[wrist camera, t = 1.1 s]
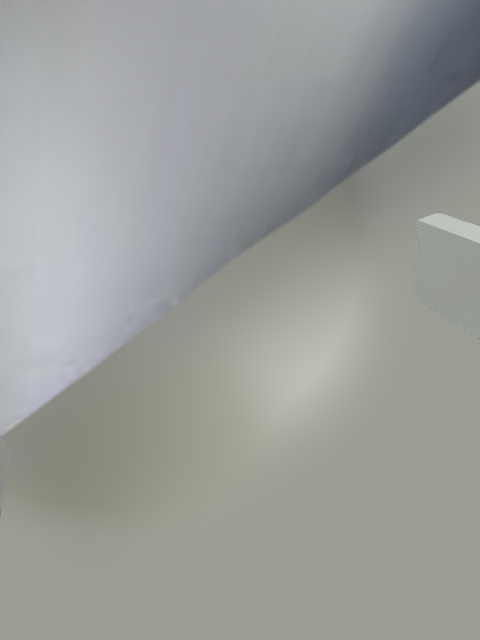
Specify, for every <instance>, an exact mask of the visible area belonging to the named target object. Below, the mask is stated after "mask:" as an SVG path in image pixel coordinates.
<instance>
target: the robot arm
mask: <svg viewBox="0 0 480 640" xmlns="http://www.w3.org/2000/svg"><path fill="white" fill-rule="evenodd" d="M412 298H414V299H415V300H417V301H418V302H420V303H422V304H423V305H425V306H427V307H428V308H430V309H431V310H433V311H435V312H436V313H438V314H440V315H441V316H443V317H444V318H446V319H448V320H450V321H451V322H453V323H455V324H456V325H457V326H459V327H461V328H462V329H464V330H466V331H468V332H469V333H471V334H472V335H474V336H475V337H477V338H479V339H480V226H477V225H474V224H471V223H468V222H465V221H462V220H459V219H456V218H453V217H450V216H447V215H444V214H441V213H436V214H433V215H430V216H427V217H424V218H422V219H419V220H417V233H416V248H415V264H414V279H413V294H412ZM11 454H12V451H11V450H10V449H9V447H8V446H7V445H6V444H5V443H4V441H3V440H2V439H1V437H0V515H1V509H2V504H3V499H4V493H5V487H6V482H7V476H8V471H9V465H10V460H11Z"/></svg>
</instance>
